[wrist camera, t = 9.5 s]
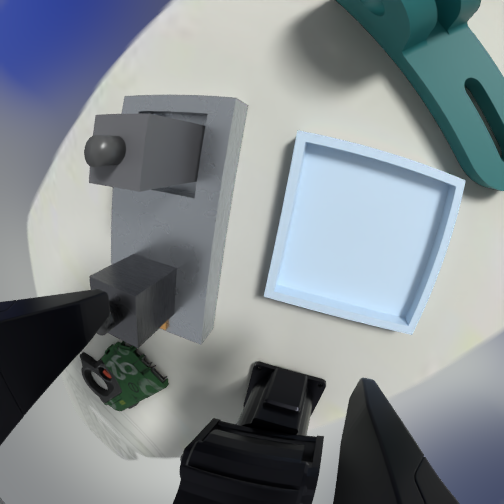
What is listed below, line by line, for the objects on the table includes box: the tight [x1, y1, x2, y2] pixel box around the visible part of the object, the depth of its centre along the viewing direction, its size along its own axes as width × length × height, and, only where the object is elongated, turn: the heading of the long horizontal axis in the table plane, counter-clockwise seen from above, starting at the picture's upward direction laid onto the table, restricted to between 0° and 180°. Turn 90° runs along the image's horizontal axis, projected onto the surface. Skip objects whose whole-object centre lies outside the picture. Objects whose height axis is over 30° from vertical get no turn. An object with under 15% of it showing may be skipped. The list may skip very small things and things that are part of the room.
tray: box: [264, 130, 466, 335], centre depth 18 cm, size 11×11×2 cm
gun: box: [80, 341, 169, 411], centre depth 31 cm, size 16×2×10 cm
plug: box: [84, 114, 205, 192], centre depth 16 cm, size 4×4×9 cm
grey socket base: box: [90, 95, 248, 348], centre depth 18 cm, size 18×9×9 cm, turn 169°
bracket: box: [336, 0, 504, 191], centre depth 10 cm, size 18×7×8 cm, turn 35°
